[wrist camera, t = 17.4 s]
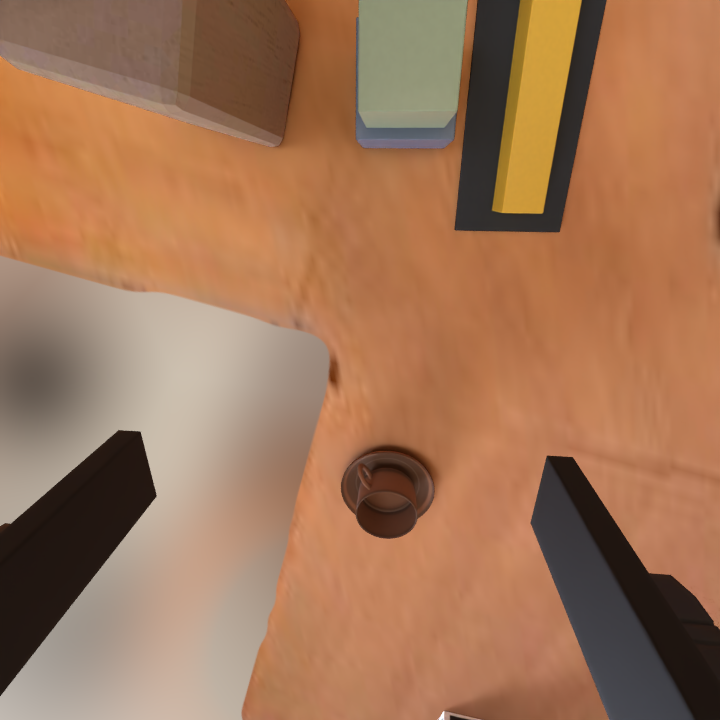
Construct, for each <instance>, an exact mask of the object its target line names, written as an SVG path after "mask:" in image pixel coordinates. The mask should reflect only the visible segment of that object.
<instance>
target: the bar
mask: <svg viewBox="0 0 720 720" xmlns="http://www.w3.org/2000/svg"><path fill="white" fill-rule="evenodd" d="M581 2H582V0H520V6H519V13H518V21H517V28H516V35H515V43H514V50H513V58H512V65H511V73H510V80H509V88H508V95H507V103H506V110H505V118H504V125H503V132H502V140H501V147H500V155H499V162H498V170H497V177H496V185H495V192H494V200H493V207H492V211H496V212H500V213H536V214H542V213H543V210H544V205H545V199H546V194H547V188H548V183H549V177H550V172H551V166H552V161H553V155H554V150H555V145H556V139H557V134H558V128H559V123H560V117H561V112H562V106H563V101H564V95H565V90H566V84H567V79H568V73H569V68H570V62H571V57H572V51H573V46H574V40H575V35H576V30H577V24H578V19H579V13H580V8H581Z"/></svg>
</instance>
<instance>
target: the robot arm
mask: <svg viewBox="0 0 720 720" xmlns="http://www.w3.org/2000/svg"><path fill="white" fill-rule="evenodd" d="M155 498H156V492H155V487H154V483H153V480H152V475H151V471H150V468H149V464H148V460H147V456H146V452H145V448H144V444H143V440H142V436H141V432H138V431H122V430H118V431H117V432H116V433H115V434H114V435H113V436H112V437H110V438H109V439H108V440H107V441H106V442H105V443H103V444H102V445H101V446H100V447H99V448H98V449H97V450H95V451H94V452H93V453H92V454H91V455H90V456H88V457H87V458H86V459H85V460H84V461H83V462H82V463H80V464H79V465H78V466H77V467H76V468H75V469H73V470H72V471H71V472H70V473H69V474H68V475H67V476H65V477H64V478H63V479H62V480H61V481H60V482H58V483H57V484H56V485H55V486H54V487H53V488H52V489H51V490H49V491H48V492H47V493H46V494H45V495H44V496H42V497H41V498H40V499H39V500H38V501H37V502H35V503H34V504H33V505H32V506H31V507H30V508H29V509H27V510H26V511H25V512H24V513H23V514H22V515H20V516H19V517H18V518H17V519H16V520H15V521H14V522H13V523H11V524H7V523H5V524H3V525H1V526H0V696H1V694H2V693H3V692H4V691H5V689H6V688H7V687H8V685H9V684H10V683H11V682H12V680H13V679H14V678H15V677H16V675H17V674H18V673H19V672H20V670H21V669H22V668H23V666H24V665H25V664H26V663H27V661H28V660H29V659H30V657H31V656H32V655H33V654H34V652H35V651H36V650H37V648H38V647H39V646H40V645H41V643H42V642H43V641H44V640H45V638H46V637H47V636H48V634H49V633H50V632H51V631H52V629H53V628H54V627H55V625H56V624H57V623H58V621H59V620H60V619H61V618H62V617H63V615H64V614H65V612H66V611H67V610H68V609H69V608H70V606H71V605H72V604H73V602H74V601H75V600H76V599H77V597H78V596H79V595H80V594H81V592H82V591H83V590H84V588H85V587H86V586H87V584H88V583H89V582H90V581H91V579H92V578H93V577H94V576H95V574H96V573H97V572H98V571H99V569H100V568H101V567H102V565H103V564H104V563H105V561H106V560H107V559H108V558H109V556H110V555H111V554H112V553H113V551H114V550H115V549H116V547H117V546H118V545H119V544H120V542H121V541H122V540H123V539H124V537H125V536H126V535H127V533H128V532H129V531H130V530H131V528H132V527H133V526H134V524H135V523H136V522H137V521H138V519H139V518H140V517H141V515H142V514H143V513H144V512H145V510H146V509H147V508H148V507H149V505H150V504H151V503H152V501H153V500H154V499H155ZM531 525H532V528H533V530H534V533H535V535H536V538H537V540H538V543H539V545H540V548H541V550H542V553H543V555H544V558H545V560H546V563H547V565H548V568H549V570H550V573H551V575H552V578H553V580H554V583H555V585H556V588H557V590H558V593H559V595H560V598H561V600H562V603H563V605H564V607H565V610H566V612H567V615H568V617H569V620H570V622H571V625H572V627H573V630H574V632H575V635H576V637H577V640H578V642H579V645H580V647H581V650H582V652H583V655H584V657H585V660H586V662H587V665H588V667H589V670H590V672H591V675H592V677H593V680H594V682H595V685H596V687H597V690H598V692H599V695H600V697H601V700H602V702H603V705H604V707H605V710H606V712H607V715H608V717H609V720H720V630H719V628H718V627H717V626H714V623H713V622H714V621H713V620H712V619H711V617H710V616H709V615H708V613H707V612H706V610H705V609H704V608H703V606H702V605H701V604H700V602H699V601H698V600H697V598H696V597H695V596H694V595H693V594H692V593H691V592H690V591H688V590H687V589H686V588H685V587H684V586H683V585H682V584H680V583H679V582H678V581H677V580H676V579H675V578H674V577H672V576H671V575H664V574H651V573H648V571H647V570H646V568H645V567H644V565H643V564H642V562H641V561H640V559H639V558H638V556H637V555H636V553H635V552H634V550H633V548H632V547H631V545H630V544H629V542H628V541H627V539H626V538H625V536H624V535H623V533H622V532H621V530H620V529H619V527H618V526H617V524H616V523H615V521H614V519H613V518H612V516H611V515H610V513H609V512H608V510H607V509H606V507H605V506H604V504H603V503H602V501H601V500H600V498H599V497H598V495H597V494H596V492H595V490H594V489H593V487H592V486H591V484H590V483H589V481H588V480H587V478H586V477H585V475H584V474H583V472H582V471H581V469H580V468H579V466H578V465H577V463H576V461H575V460H574V458H573V457H561V456H547V458H546V462H545V466H544V470H543V474H542V478H541V482H540V486H539V491H538V495H537V499H536V503H535V507H534V511H533V515H532V520H531Z"/></svg>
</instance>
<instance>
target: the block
mask: <svg viewBox="0 0 720 720" xmlns="http://www.w3.org/2000/svg"><path fill="white" fill-rule="evenodd" d="M299 36H300V32H299V25H298V22H297V20H296V18H295V17H294V15H293V13H292V12H291V10H290V8H289V6H288V5H287V3H286V1H285V0H0V56H1V57H3V58H4V59H5V60H7V61H8V62H9V63H11V64H12V65H13V66H15V67H16V68H17V69H19V70H23V71H26V72H29V73H32V74H35V75H38V76H41V77H45V78H48V79H51V80H54V81H57V82H60V83H63V84H67V85H70V86H73V87H76V88H79V89H82V90H85V91H89V92H92V93H95V94H98V95H101V96H104V97H107V98H111V99H114V100H117V101H120V102H123V103H126V104H129V105H133V106H136V107H139V108H142V109H145V110H148V111H151V112H155V113H158V114H161V115H164V116H167V117H170V118H173V119H177V120H180V121H183V122H186V123H189V124H193V125H196V126H200V127H203V128H206V129H210V130H213V131H217V132H220V133H224V134H227V135H230V136H234V137H237V138H241V139H244V140H248V141H251V142H255V143H258V144H261V145H265V146H268V147H276V146H279V145H280V143H281V141H282V140H283V136H284V130H285V123H286V117H287V111H288V105H289V98H290V92H291V86H292V80H293V73H294V67H295V61H296V55H297V48H298V42H299Z"/></svg>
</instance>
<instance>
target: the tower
mask: <svg viewBox="0 0 720 720" xmlns="http://www.w3.org/2000/svg"><path fill="white" fill-rule="evenodd" d="M467 5H468V0H359V17H357V18H356V140H357V141H358V142H359V144H360V145H361V146H362V147H363V148H445V147H446V146H447V145H448V144H449V143H451V142H452V141H453V140H454V137H455V126H456V115H457V110H458V102H459V91H460V80H461V69H462V59H463V48H464V37H465V26H466V15H467Z"/></svg>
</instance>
